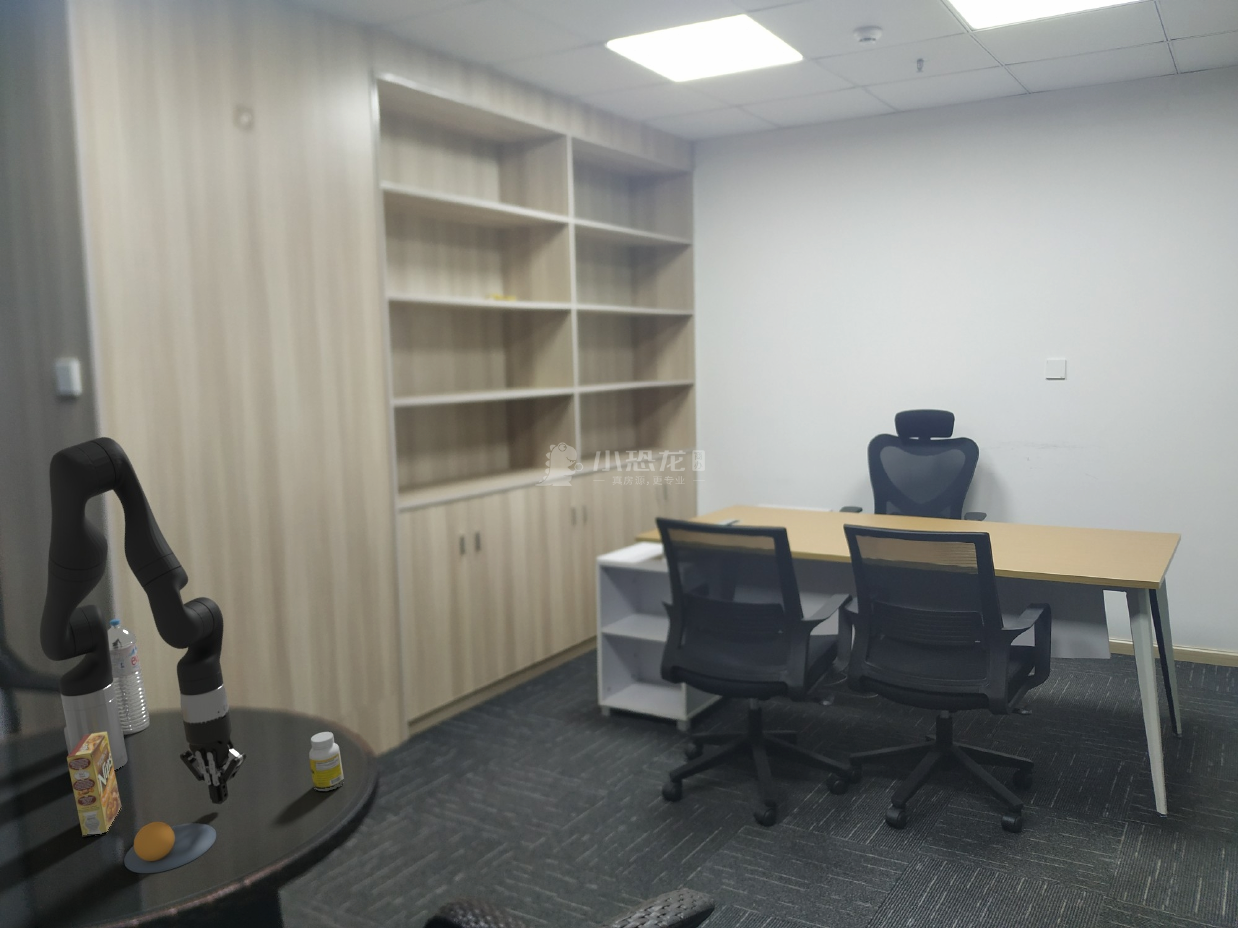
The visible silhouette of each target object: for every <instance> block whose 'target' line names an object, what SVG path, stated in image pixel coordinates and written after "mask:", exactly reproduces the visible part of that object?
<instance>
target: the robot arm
mask: <svg viewBox="0 0 1238 928" xmlns="http://www.w3.org/2000/svg"><path fill="white" fill-rule="evenodd" d="M48 472H49V474H48V475H49V488H50V491H49V492H50V502H51V503H50V507H51V527H50V542H49V548H48V549H49V550H48V561H47V588H46V597H45V601H44V606H43V610H42V615H41V619H40V620H41V621H40V626H39V627H40V628H39V640H40V646H41V650H42V652H43V654H44V655H45V657H46V658H48V659H49V660H51V661H54V662H60V661H66V660H70V659H72V658H73V659H74V658H76V657H79V656H80V657H81V656H83V655H84V657H83V658H82V659H81V660H80V662H79V663H77V664H76V665H75V666H74V667H72V668H71V669H70V670H68V671H67V672H66V673H64V674H63V675H62V676H61V677H60V678H59V680H58V687H59V693H60V698H61V702H62V704H61V705H62V707H63V713H64V718H65V724H66V726H64V729H63V733H64V739H65V742H66V743H65V744H66V749H67V754H68V755H69V754H70V753H71V752H72V750H73V749H74V748H75V747H76V745H77V744H78V743H79V741H80V740H81V739H82V737H83V736H84V735H88V734H94V733H100V732H107V735H108V740H109V746H110V751H111V756H112V761H113V767H114V770H116V769H118V770H119V768H120V767H121V768H123V767H124V766H125V765H126V764H127V762H128V754H127V749H126V745H125V744H126V743H125V739H124V737H125V736H124V735H123V731H122V725H121V720H120V714H119V709H118V703H117V698H116V692H115V687H114V681H113V675H112V663H111V657H110V649H109V639H108V626H107V625H108V624H107V620H106V618H105V615H104V613H103V611H102V610H101V608H100V607H98V605H95V604H86V605H83V606H82V605H81V606H80V607H79V605H80V604H81V603H82V602H83V601H84V600H86V598H87V597H88V595H90V594H91V592H92V591H94V590H95V588H96V587H97V586H98V584H99V583H100V582H101V580H102V578H103V576H104V574H105V571H106V567H107V560H108V559H107V558H108V549H109V546H108V540H107V538H106V536H105V534H104V532H102V531H101V529H100V528H99V527H98V526H97V525H95V524H94V523H93V522H92V521H91V520H89V518H88V517H87V516H86V512H85V511H86V506H87V503H88V501H89V500H90V499H92V498H94V497H96V496H100V495H102V494H104V493H107V492H109V491H113V492H114V493H115V495H116V496H117V498H118V500H119V502H120V504H121V507H122V510H123V515H124V554H125V555H124V556H125V558H126V562H127V564H128V567H129V569H130V570H131V572H132V573H133V575H134V577H135V578H136V579H137V581H138V583H139V584H140V587H141V588H142V589H143V591H144V592H145V594H146V596H147V599H148V600H147V601H148V602H149V603H148V604H149V607H150V611H151V613H152V617H153V620H154V623H155V627H156V631H157V633H158V634H159V636H160V638H161V639H162V640H163V641H164V642H165V644H167V645H169V646H171V648H175V649H178V650H184V649H186V653H185V654H184V655H183V656H182V657H181V658H180V659H179V660H178V662H177V664H176V675H177V682H178V687H179V694H180V695H179V696H180V711H181V716H182V721H183V722H182V724H183V729H184V734H185V739H186V742H187V743H188V744H189V745H188V749H187V750H186V751H184V752H182V753H181V754H180V755H179V757H180V760H181V761H182V762H183V763H184V764H185V766H186V767H187V768H188V770H189V771H190V772H191V773H192V774H193V776H194V777H195V779H196V780H197V781H198V782H202V781H203V782H205V784H206V786H207V789H208V793H209V798H210V801H211V803H212V804H215V805H222V804H223V803H225V801H227V799H228V798H229V791H228V784H227V783H228V782H229V781H231V780H232V779H233V778H235V777H236V775H237V774H238V772H239V770H240V769H241V767H242V765H243V764H244V762H245V760H246V758H247V755H246V753H245V752H241V753H239V752H238V751H237V750H235V747H234V745H235V744H234V742H233V741H232V739H231V734H232V731H233V725H232V719H231V712H230V706H229V700H228V694H227V691H226V687H225V685H224V678H223V673H222V671H223V670H222V666H221V655H222V650H223V649H222V648H223V637H224V636H223V635H224V624H225V623H224V617H223V614H222V611H221V608H220V607H219V605H218V604H217V603H216V602H215V601H214V600H213V599H211V598H209V597H205V596H199V597H196V598H193V599H191V600H189V601H187V602H183V598H182V595H181V590H183V589H184V588H185V587H186V586H187V584H188V583H189V577H188V574H187V572H186V570H185V569H184V567H183V566H182V563H181V562H180V560H179V559H178V558H177V556H176V554H175V552H174V551H173V550H172V548H171V547H170V545H169V543H168V542H167V540H166V538H165V537H164V534H163V532H162V530H161V529H160V527H159V525H158V522H157V520H156V518H155V514H154V513H153V511H152V508H151V506H150V503H149V501H148V497H147V495H146V494H145V492H144V489H143V488H142V484H141V482H140V480H139V477H138V476H137V474H136V470H135V469H134V466H133V464H132V463H131V459H129V456H128V455H127V453H126V451H125V450H124V449H123V447H122V446H121V445H120V443H118V442H117V441H116V440H114V439H113V438H111V437H106V436H101V437H98V438H94V439H90V440H87V441H85V442H81V443H78V444H75V445H72V446H68V447H66V448H64V449H63V448H62V449H61V450H59V451H56V453H54V455H53V456H52V458H51V461H50V463H49V471H48ZM122 766H123V767H122ZM198 767H199V768H198ZM121 768H120V769H121ZM116 771H117V770H116Z"/></svg>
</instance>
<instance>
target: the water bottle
mask: <svg viewBox="0 0 1238 928" xmlns="http://www.w3.org/2000/svg"><path fill="white" fill-rule="evenodd" d="M109 624H110V625H109V626H110V628H108V629H107V631H108V639H109V649H110V657H111V663H112V675H113V681H114V687H115V692H116V698H117V703H118V709H119V714H120V720H121V725H122V731H123V736H124V735H125V736H126V735H132V734H133V735H134V734H136V733H140V732H141V731H144V730H145V729H147V728H148V727H149V726H150V724H151V723H150V722H151V721H150V720H151V719H150V713H149V712H150V711H149V707H148V706H149V705H148V700H147V696H146V689H145V684H144V679H143V678H144V677H143V671H142V669H141V663H140V659H139V653H138V647H137V638H136V637H137V636H136V634H135V633H134V632H133V631H132V630H130V629H129V628H127V627H125V626H122V625H121V621H120V619H119V618H114V619H111V620H110V621H109Z"/></svg>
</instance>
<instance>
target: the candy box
mask: <svg viewBox="0 0 1238 928" xmlns="http://www.w3.org/2000/svg"><path fill="white" fill-rule="evenodd" d="M66 760H67V765H68V771H69V775H70V779H71V785H72V790H73V796H74V799H75V804H76V809H77V813H78V819H79V824H80V829H81V833H82V836H83V835H87V834H100V835H103V834H102V833H104V832H107V831H108V832H109V830H110V829H109V827H110V826H111V827H112V825H113V824H112V822H113V821H114V822H115V820H116V819H115V817H116V816H117V817H118V815H119V813H120V812H119V810H120V808H121V807H122V803H121V798H120V793H119V787H118V783H117V777H116V771H114V767H113V761H112V756H111V751H110V746H109V740H108V735H107V732H100V733H94V734H88V735H84V736H83V737H82V739H81V740H80V741H79V743H78V744H77V745H76V747H75V748H74V749H73V750H72V752H71V753H70V754H68V755H67V756H66ZM121 809H122V808H121ZM120 811H121V810H120ZM118 812H119V813H118ZM117 814H118V815H117ZM117 817H116V818H117ZM114 819H115V820H114ZM114 822H113V823H114ZM111 824H112V825H111ZM111 827H110V828H111ZM108 829H109V830H108ZM108 832H107V833H108Z"/></svg>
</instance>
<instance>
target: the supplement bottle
mask: <svg viewBox="0 0 1238 928" xmlns="http://www.w3.org/2000/svg"><path fill="white" fill-rule="evenodd" d="M310 744H311V745H310V746H311V749H310V750H309V753H308V757H309V758H308V759H309V763H310V764H309V765H310V771H311V777H312V782H313V788H314V787H315V788H317V789H325V788H330V787H334V786H335V785H337V784H340V782H342V780H343V779H344V780H345V778H344V771H343V765H342V758H341V757H342V756H341V751H340V750H341V749H340V746H339V745H338V744H337V743H335V738H334V734H333V733H332V732H331V731H330V732H329V731H323V732H319V733H316V734H314V735H313V736H312V737H311V738H310ZM315 788H314V789H315Z"/></svg>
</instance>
